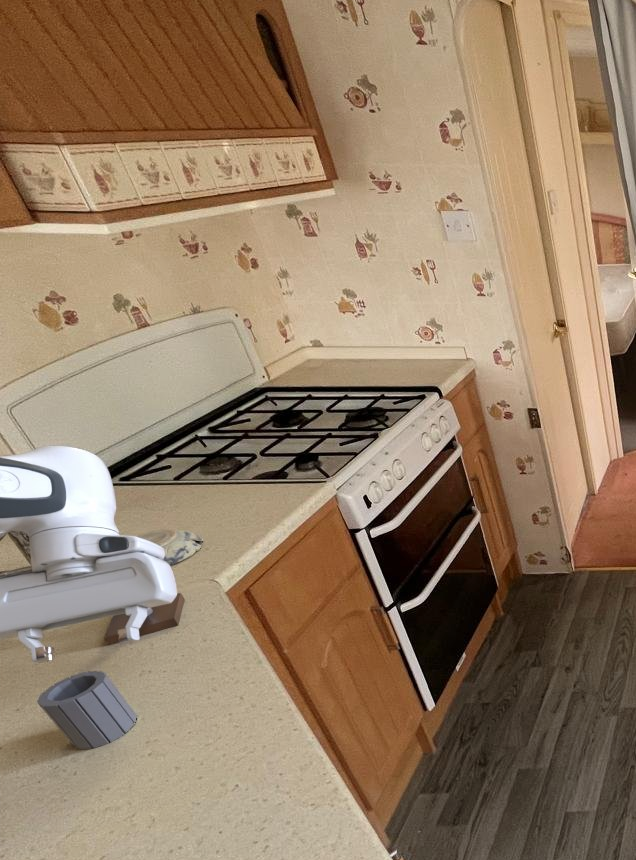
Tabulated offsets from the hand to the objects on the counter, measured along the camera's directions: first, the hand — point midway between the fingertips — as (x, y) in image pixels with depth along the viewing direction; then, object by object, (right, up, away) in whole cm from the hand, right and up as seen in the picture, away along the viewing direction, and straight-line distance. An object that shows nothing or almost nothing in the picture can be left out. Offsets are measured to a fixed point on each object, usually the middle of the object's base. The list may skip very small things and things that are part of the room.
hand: (87, 651), depth 93 cm
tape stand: (-12, +1, +22) cm, 25 cm away
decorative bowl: (-29, +12, +40) cm, 51 cm away
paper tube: (-35, +6, +32) cm, 48 cm away
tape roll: (+3, -11, 0) cm, 11 cm away
